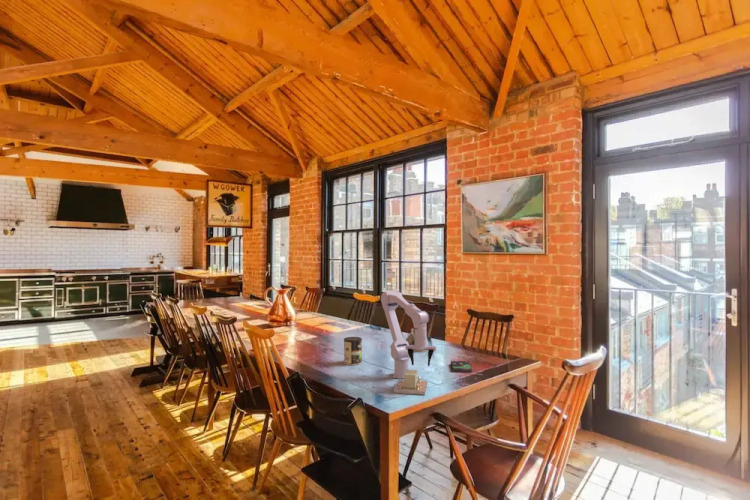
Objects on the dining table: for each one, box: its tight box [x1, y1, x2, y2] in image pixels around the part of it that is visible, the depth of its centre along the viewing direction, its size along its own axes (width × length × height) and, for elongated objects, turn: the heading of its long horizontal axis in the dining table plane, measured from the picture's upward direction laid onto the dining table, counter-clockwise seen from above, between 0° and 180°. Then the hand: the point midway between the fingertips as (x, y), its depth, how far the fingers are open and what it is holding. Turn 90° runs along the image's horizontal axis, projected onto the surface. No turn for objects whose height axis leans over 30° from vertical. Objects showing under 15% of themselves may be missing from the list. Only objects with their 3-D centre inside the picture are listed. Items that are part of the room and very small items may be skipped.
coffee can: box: [343, 336, 363, 366], centre depth 240 cm, size 10×10×14 cm
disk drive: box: [450, 360, 473, 373], centre depth 228 cm, size 10×3×15 cm
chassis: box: [393, 376, 428, 396], centre depth 195 cm, size 15×14×4 cm
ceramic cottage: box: [405, 328, 428, 353], centre depth 271 cm, size 16×16×15 cm
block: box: [405, 369, 418, 388], centre depth 195 cm, size 8×5×6 cm, turn 168°
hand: (420, 365), depth 201 cm, fingers open, 7 cm apart
